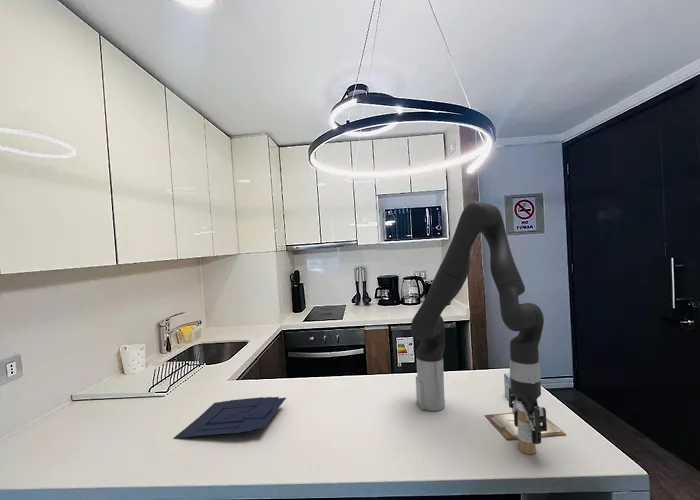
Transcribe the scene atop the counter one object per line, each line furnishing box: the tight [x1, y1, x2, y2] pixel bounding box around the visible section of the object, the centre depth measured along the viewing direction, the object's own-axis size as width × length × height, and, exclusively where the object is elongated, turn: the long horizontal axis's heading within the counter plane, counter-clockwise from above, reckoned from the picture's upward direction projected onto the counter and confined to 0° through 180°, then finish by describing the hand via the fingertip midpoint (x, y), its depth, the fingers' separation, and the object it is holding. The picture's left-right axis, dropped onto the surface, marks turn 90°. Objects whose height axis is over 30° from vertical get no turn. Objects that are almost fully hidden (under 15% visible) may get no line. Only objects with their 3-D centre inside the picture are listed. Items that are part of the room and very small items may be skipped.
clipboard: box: [484, 412, 567, 441], centre depth 108 cm, size 18×14×2 cm
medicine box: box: [503, 372, 515, 402], centre depth 125 cm, size 8×4×9 cm, turn 84°
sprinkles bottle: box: [516, 401, 537, 455], centre depth 95 cm, size 5×5×14 cm
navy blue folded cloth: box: [173, 396, 287, 439], centre depth 119 cm, size 24×30×4 cm
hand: (527, 434), depth 95 cm, fingers open, 8 cm apart
